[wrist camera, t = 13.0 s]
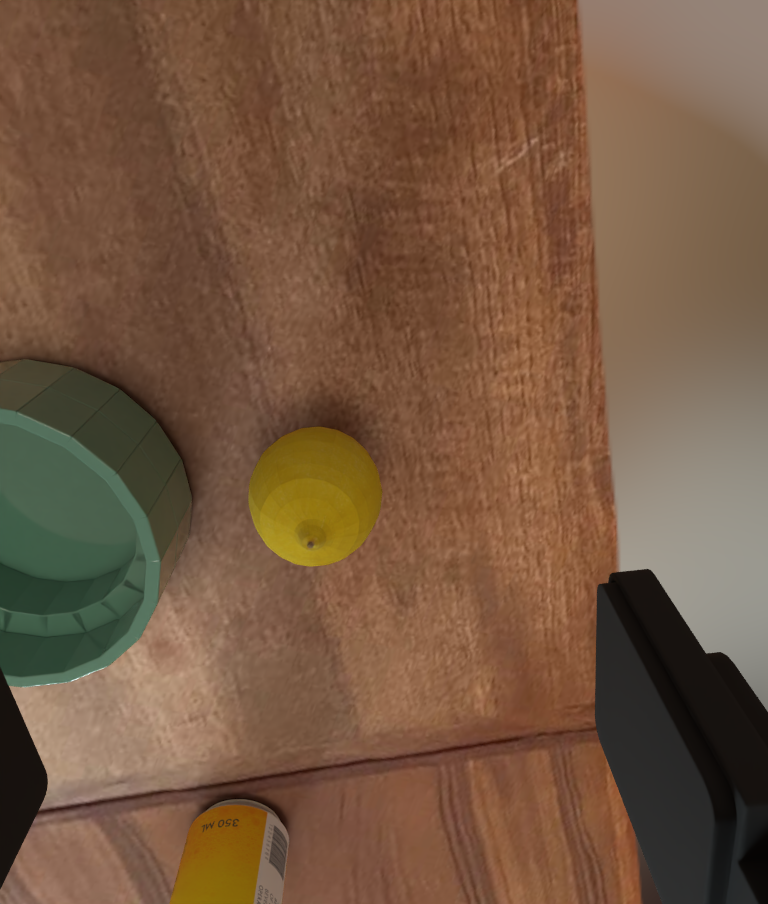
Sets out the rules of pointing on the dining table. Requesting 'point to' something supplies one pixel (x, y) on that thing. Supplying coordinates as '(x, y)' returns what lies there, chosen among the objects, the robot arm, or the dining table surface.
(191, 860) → the beer can
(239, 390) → the dining table surface
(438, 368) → the dining table surface
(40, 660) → the green pet bowl
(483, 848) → the dining table surface
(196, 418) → the dining table surface
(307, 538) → the fruit
